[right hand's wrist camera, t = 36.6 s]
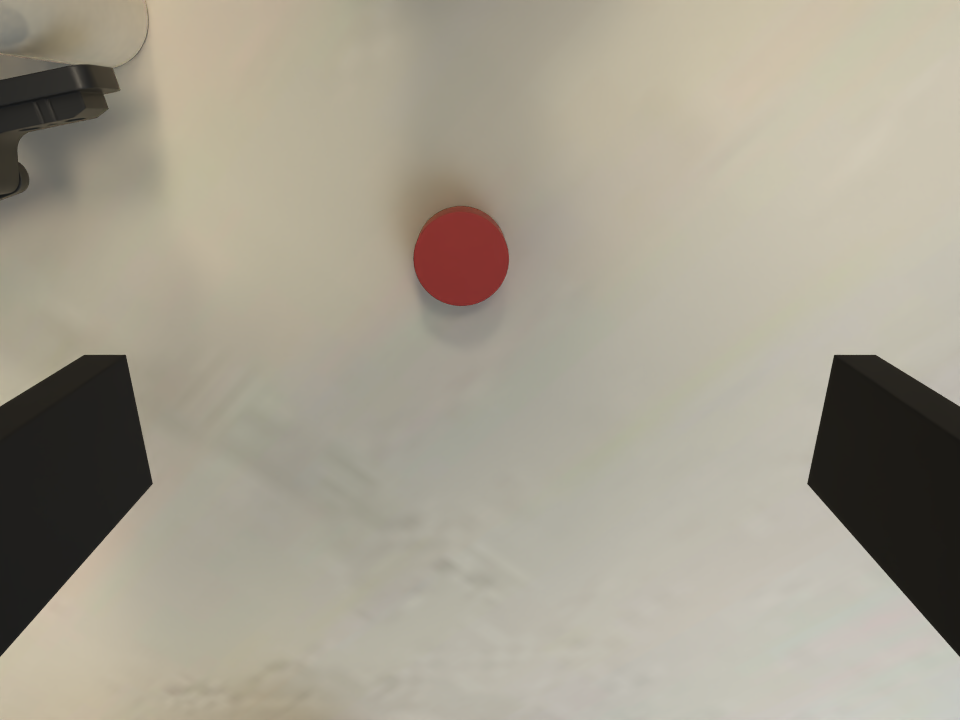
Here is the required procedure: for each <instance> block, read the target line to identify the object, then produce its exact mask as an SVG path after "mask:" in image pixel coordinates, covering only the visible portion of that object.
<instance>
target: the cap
mask: <svg viewBox="0 0 960 720" xmlns="http://www.w3.org/2000/svg"><path fill="white" fill-rule="evenodd" d="M508 264H509V254H508V248H507V244H506V241H505V238H504V236H503V233H502V231H501V229H500V228H499V226H498V225H497V223H496V222H495V221H494V220H493V219H492V218H491V217H490V216H488V215H487V214H486V213H484V212H482V211H480V210H478V209H475V208H472V207H466V206H456V207H450V208H447V209H444V210H442V211H440V212H438V213H437V214H435V215H434V216H433V217H431V218H430V219H429V220H428V221H427V223H426V224H425V225H424V227H423V228H422V230H421V232H420V235H419V237H418V240H417V242H416V245H415V250H414V267H415V271H416V274H417V277H418V279H419V281H420V283H421V284H422V286H423V287H424V288H425V290H426V291H427V292H428V293H429V294H430V295H432V296H433V297H434V298H436V299H438V300H440V301H441V302H444V303H447V304H450V305H456V306H467V305H473V304H476V303H479V302H481V301H484V300H485V299H487V298H489V297H490V296H491V295H492V294H494V293H495V291H496V290H497V289H498V288H499V287H500V285H501V284H502V282H503V280H504V278H505V276H506V274H507V270H508Z"/></svg>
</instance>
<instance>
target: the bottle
mask: <svg viewBox="0 0 960 720" xmlns="http://www.w3.org/2000/svg"><path fill="white" fill-rule="evenodd" d="M147 28H148V13H147V7H146V3H145V0H0V55H7V56H14V57H22V58H29V59H36V60H43V61H50V62H57V63H64V64H71V65H80V64H92V65H98V66H105V67H111V68H114V67H117V66H120V65H123V64H125V63H126V62H128V61H129V60H131V59H132V58H133V57H134V56H135V55H136V54H137V53H138V51H139V50H140V48H141V47H142V45H143V43H144V40H145V37H146V34H147Z"/></svg>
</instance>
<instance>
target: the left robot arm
mask: <svg viewBox="0 0 960 720" xmlns="http://www.w3.org/2000/svg"><path fill="white" fill-rule="evenodd" d="M117 91H120V88H119V85H118V82H117V79H116V76H115V74H114V71H113V68H111V67H105V66H98V65H92V64H80V65H71V66H66V67H61V68H56V69H52V70H47V71H42V72H37V73H33V74H28V75H23V76H18V77H13V78H9V79H4V80H0V200H2V199H5V198H8V197H10V196H13V195H16V194H19V193H21V192H23V191H25V190H26V189H27V187H28V185H29V176H28V173H27V171H26V169H25V168H24V167H23V165H22V164H20V163H19V162H18V155H17V146H18V142H19V140H20V138H21V137H22V136H23V135H24V134H26V133H28V132H31V131H35V130H40V129H45V128H50V127H55V126H59V125H64V124H68V123H74V122H79V121H84V120H89V119H93V118H97V117H98V116H100V115H101V114H102V113H104V112H105V111H106V110H108V106H107V103H106V100H105V98H104V94H109V93H113V92H117Z"/></svg>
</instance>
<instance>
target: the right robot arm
mask: <svg viewBox="0 0 960 720" xmlns="http://www.w3.org/2000/svg"><path fill="white" fill-rule="evenodd" d="M152 484H153V483H152V478H151V474H150V469H149V464H148V459H147V454H146V450H145V445H144V440H143V435H142V431H141V426H140V421H139V416H138V411H137V407H136V402H135V397H134V392H133V387H132V383H131V378H130V373H129V368H128V364H127V359H126V355H84V356H82V357H80V358H79V359H77V360H75V361H74V362H72V363H70V364H69V365H67V366H66V367H64V368H62V369H61V370H59V371H57V372H56V373H54V374H53V375H51V376H49V377H48V378H46V379H44V380H43V381H41V382H39V383H38V384H36V385H35V386H33V387H31V388H30V389H28V390H26V391H25V392H23V393H22V394H20V395H18V396H17V397H15V398H13V399H12V400H10V401H9V402H7V403H5V404H4V405H2V406H0V656H1V655H2V654H3V653H4V652H5V651H6V650H7V648H8V647H9V646H10V645H11V644H12V643H13V642H14V641H15V639H16V638H17V637H18V636H19V635H20V634H21V633H22V631H23V630H24V629H25V628H26V627H27V626H28V625H29V624H30V622H31V621H32V620H33V619H34V618H35V617H36V616H37V614H38V613H39V612H40V611H41V610H42V609H43V608H44V606H45V605H46V604H47V603H48V602H49V601H50V600H51V599H52V597H53V596H54V595H55V594H56V593H57V592H58V591H59V589H60V588H61V587H62V586H63V585H64V584H65V583H66V582H67V580H68V579H69V578H70V577H71V576H72V575H73V574H74V572H75V571H76V570H77V569H78V568H79V567H80V566H81V565H82V563H83V562H84V561H85V560H86V559H87V558H88V557H89V555H90V554H91V553H92V552H93V551H94V550H95V549H96V548H97V546H98V545H99V544H100V543H101V542H102V541H103V540H104V538H105V537H106V536H107V535H108V534H109V533H110V532H111V530H112V529H113V528H114V527H115V526H116V525H117V524H118V523H119V521H120V520H121V519H122V518H123V517H124V516H125V515H126V513H127V512H128V511H129V510H130V509H131V508H132V507H133V506H134V504H135V503H136V502H137V501H138V500H139V499H140V498H141V496H142V495H143V494H144V493H145V492H146V491H147V490H148V489H149V487H150V486H151V485H152ZM807 484H808V485H809V486H810V487H811V489H812V490H813V491H814V492H815V493H816V494H817V495H818V496H819V498H820V499H821V500H822V501H823V502H824V503H825V504H826V506H827V507H828V508H829V509H830V510H831V511H832V512H833V513H834V515H835V516H836V517H837V518H838V519H839V520H840V521H841V523H842V524H843V525H844V526H845V527H846V528H847V529H848V530H849V532H850V533H851V534H852V535H853V536H854V537H855V538H856V540H857V541H858V542H859V543H860V544H861V545H862V546H863V547H864V549H865V550H866V551H867V552H868V553H869V554H870V555H871V557H872V558H873V559H874V560H875V561H876V562H877V563H878V565H879V566H880V567H881V568H882V569H883V570H884V571H885V572H886V574H887V575H888V576H889V577H890V578H891V579H892V580H893V582H894V583H895V584H896V585H897V586H898V587H899V588H900V589H901V591H902V592H903V593H904V594H905V595H906V596H907V597H908V599H909V600H910V601H911V602H912V603H913V604H914V605H915V606H916V608H917V609H918V610H919V611H920V612H921V613H922V614H923V616H924V617H925V618H926V619H927V620H928V621H929V622H930V624H931V625H932V626H933V627H934V628H935V629H936V630H937V631H938V633H939V634H940V635H941V636H942V637H943V638H944V639H945V641H946V642H947V643H948V644H949V645H950V646H951V647H952V648H953V650H954V651H955V652H956V653H957V654H958V655H959V656H960V406H958V405H956V404H955V403H953V402H951V401H950V400H948V399H947V398H945V397H943V396H942V395H940V394H938V393H937V392H935V391H934V390H932V389H930V388H929V387H927V386H925V385H924V384H922V383H921V382H919V381H917V380H916V379H914V378H912V377H911V376H909V375H907V374H906V373H904V372H903V371H901V370H899V369H898V368H896V367H894V366H893V365H891V364H890V363H888V362H886V361H885V360H883V359H881V358H880V357H878V356H876V355H834V359H833V364H832V368H831V373H830V378H829V383H828V387H827V392H826V397H825V402H824V407H823V411H822V416H821V421H820V426H819V431H818V435H817V440H816V445H815V450H814V454H813V459H812V464H811V469H810V474H809V478H808V483H807Z"/></svg>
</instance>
